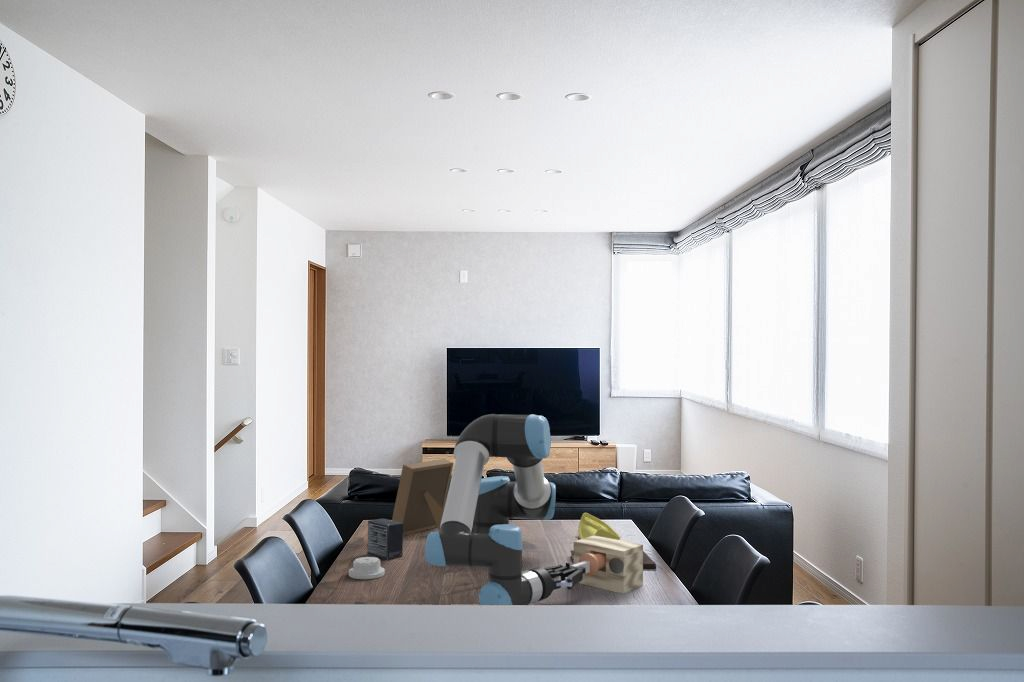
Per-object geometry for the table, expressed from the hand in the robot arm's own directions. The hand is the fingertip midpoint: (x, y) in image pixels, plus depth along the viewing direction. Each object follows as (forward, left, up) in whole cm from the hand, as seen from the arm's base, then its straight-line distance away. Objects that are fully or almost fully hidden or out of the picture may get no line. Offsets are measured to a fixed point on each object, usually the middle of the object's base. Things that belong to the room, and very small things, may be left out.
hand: (587, 566), depth 193 cm
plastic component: (+15, +59, -7) cm, 61 cm away
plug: (+4, +4, -3) cm, 7 cm away
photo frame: (-44, +71, -7) cm, 83 cm away
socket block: (+7, +8, -7) cm, 13 cm away
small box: (-56, +41, -7) cm, 69 cm away
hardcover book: (+13, +29, -8) cm, 33 cm away
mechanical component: (-59, +19, -7) cm, 63 cm away
